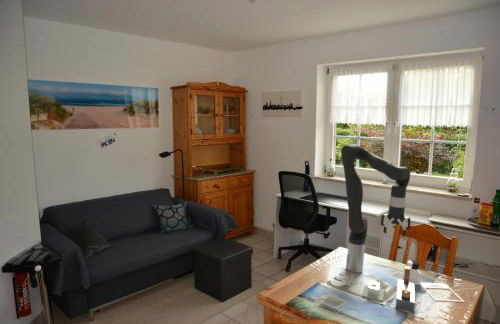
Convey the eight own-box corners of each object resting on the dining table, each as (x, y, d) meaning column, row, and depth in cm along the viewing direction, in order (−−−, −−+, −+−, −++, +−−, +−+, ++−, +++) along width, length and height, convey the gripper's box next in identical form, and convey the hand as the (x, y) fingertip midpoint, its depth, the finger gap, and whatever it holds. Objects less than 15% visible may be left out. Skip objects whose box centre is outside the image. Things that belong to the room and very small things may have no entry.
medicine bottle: (415, 279, 197) (417, 259, 195) (420, 285, 190) (422, 265, 188) (402, 278, 198) (404, 258, 196) (407, 284, 191) (409, 264, 189)
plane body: (413, 312, 164) (416, 286, 162) (395, 308, 167) (398, 282, 165) (413, 291, 183) (416, 268, 181) (397, 287, 187) (399, 265, 185)
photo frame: (445, 283, 192) (464, 300, 174) (445, 285, 192) (464, 303, 174) (418, 282, 192) (435, 299, 174) (418, 284, 192) (434, 301, 175)
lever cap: (378, 297, 175) (378, 288, 174) (367, 294, 177) (368, 285, 176) (379, 290, 182) (380, 281, 181) (369, 287, 184) (370, 279, 183)
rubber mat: (361, 296, 176) (362, 295, 176) (364, 286, 187) (364, 284, 187) (382, 301, 172) (382, 300, 172) (384, 290, 183) (384, 289, 183)
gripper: (382, 204, 178) (379, 234, 181) (412, 208, 172) (409, 239, 175) (383, 201, 185) (380, 230, 187) (412, 205, 179) (409, 235, 182)
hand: (394, 234), depth 181 cm, fingers open, 8 cm apart
